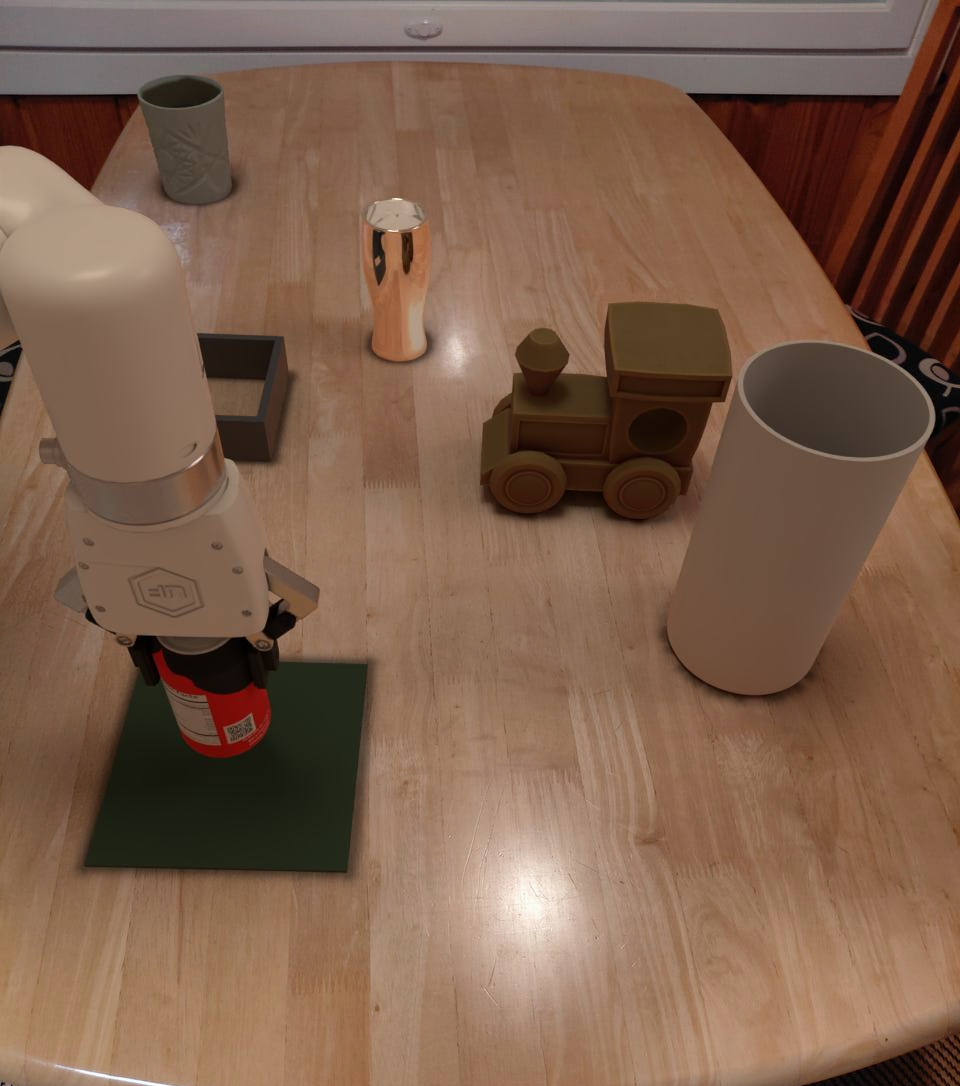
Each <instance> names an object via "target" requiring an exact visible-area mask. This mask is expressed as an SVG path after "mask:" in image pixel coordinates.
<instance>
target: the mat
mask: <svg viewBox="0 0 960 1086" xmlns="http://www.w3.org/2000/svg"><path fill="white" fill-rule="evenodd" d="M367 676H368V664H367V663H344V662H339V663H338V662H308V661H307V662H305V661H279V664H278V669H277V671H269V676H268V682H267V687H266V692H267V696H268V700H269V705H270V709H271V719H270V724H269V727H268V729H267V731H266V733H265V735H264V736H263V738H262V739H261V740H260V741H259V742H258V743H257V744H256V745H255V746H253V747H252V748H250V749H249V750H247V751H245V752H243V753H241V754H238V755H235V756H231V757H210V756H206V755H203V754H201V753H199V752H197V751H195V750H194V749H193V748H191V747H190V746H189V745H188V744H187V743H186V741H185V740H184V738H183V736H182V734H181V731H180V728H179V726H178V723H177V720H176V718H175V715H174V712H173V709H172V707H171V704H170V701H169V699H168V696H167V693H166V690H165V688H164V685H163V682H162V680H161V677H160V681H159V684H156V686H146V684H145V681H144V678H143V676H142V673H141V671H140V670H139V671H138V675H137V678H136V682H135V685H134V688H133V692H132V696H131V699H130V703H129V705H128V706H129V707H128V710H127V713H126V717H125V720H124V724H123V727H122V731H121V734H120V738H119V741H118V744H117V748H116V751H115V756H114V760H113V763H112V766H111V770H110V773H109V777H108V780H107V784H106V788H105V791H104V794H103V798H102V801H101V805H100V809H99V812H98V816H97V819H96V823H95V826H94V830H93V833H92V837H91V840H90V844H89V846H88V847H89V848H88V851H87V855H86V858H85V862H84V867H89V868H92V867H93V868H129V869H131V868H133V869H134V868H137V869H144V868H145V869H178V870H179V869H181V870H182V869H183V870H219V871H220V870H221V871H222V870H226V871H264V872H271V871H273V872H306V873H307V872H308V873H309V872H310V873H312V872H314V873H348V865H349V856H350V847H351V838H352V837H351V836H352V828H353V827H352V826H353V825H352V824H353V816H354V805H355V796H356V787H357V776H358V767H359V757H360V756H359V754H360V746H361V745H360V743H361V735H362V727H363V726H362V723H363V716H364V715H363V714H364V706H365V697H366V696H365V695H366V685H367V684H366V683H367Z"/></svg>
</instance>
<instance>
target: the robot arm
mask: <svg viewBox="0 0 960 1086" xmlns="http://www.w3.org/2000/svg"><path fill="white" fill-rule="evenodd" d="M197 333H198V332H197V328H196V324H195V319H194V313H193V310H192V305H191V300H190V296H189V291H188V287H187V282H186V278H185V273H184V269H183V265H182V261H181V259H180V256H179V253H178V250H177V248H176V246H175V243H174V241H172V239H171V238H170V236H169V235H168V233H167V232H166V231H165V230H164V228H162V227H161V226H160V225H159V224H158V223H156V221H154V220H153V219H152V218H150V217H148V216H146V215H144V214H142V213H139V212H137V211H134V210H132V209H129V208H125V207H120V206H116V205H108V204H105V202H104V201H101V200H100V199H99V198H98V197H96V196H95V195H94V194H93V193H91V192H90V191H89V190H88V189H87V188H86V187H84V186H83V185H82V184H80V183H79V182H78V181H77V180H76V179H75V178H73V177H72V176H71V175H70V174H69V173H67V172H66V171H65V170H64V169H63V168H61V167H60V166H59V165H58V164H56V163H55V162H54V161H52V160H51V159H49V158H47V157H46V156H45V155H43V154H40V153H39V152H36V151H34V150H32V149H29V148H27V147H23V146H17V145H1V146H0V352H1V351H3V350H4V349H6V348H8V347H9V346H11V345H13V344H14V343H16V342H17V341H19V343H20V346H21V348H22V350H23V353H24V356H25V359H26V361H27V364H28V366H29V368H30V371H31V373H32V376H33V378H34V382H35V383H36V384H35V385H36V386H37V389H38V392H39V394H40V397H41V399H42V402H43V404H44V407H45V410H46V412H47V415H48V417H49V420H50V423H51V426H52V427H53V428H52V429H53V431H54V433H55V437H42V438H41V439H40V440H39V443H38V455H39V458H40V461H41V463H42V464H44V465H56V466H57V468H63V469H64V470H65V471H66V473H67V476H68V478H69V482H68V483H67V485H66V487H65V490H64V494H63V501H64V512H65V519H66V527H67V533H68V538H69V542H70V549H71V553H72V557H73V562H74V566H73V567H72V568H71V569H69V570H68V571H67V572H66V573H65V574H64V575H62V576H61V577H60V578H59V580H58V582H57V583H56V587H55V590H54V592H53V599H54V600H55V601H56V602H58V603H60V604H62V605H63V606H65V607H67V608H69V609H71V610H73V611H75V612H76V613H78V614H81V613H82V614H84V618H85V619H86V620H87V621H88V622H89V623H91V624H93V625H94V626H95V625H96V626H97V627H99V628H101V629H103V630H105V631H106V632H109V633H110V634H113V635H114V638H113V639H114V642H115V643H116V644H117V645H118V646H120V647H124V648H127V651H128V654H129V656H130V658H131V661H132V665H133V666H134V667H135V668H139V671H141V673H142V676H143V678H144V681H145V684H146V686H156V684H159V681H160V674H159V672H158V669H157V666H156V663H155V661H154V658H153V655H152V652H151V639H152V635H154V636H183V637H245V638H246V639H247V640H248V641H249V642H248V647H247V658H248V662H249V666H250V670H251V674H252V678H253V682H254V686H255V687H257V689H266V687H267V682H268V676H269V671H277V669H278V664H279V662H280V648H279V642H278V639H280V638H281V637H282V636H284V635H286V634H287V633H289V632H290V631H291V630H293V629H294V628H295V627H296V623H297V622H299V621H300V620H301V621H302V620H303V619H305V618H306V617H308V616H309V615H311V614H312V613H313V612H315V611H316V610H317V609H318V608H319V603H320V596H321V589H320V587H319V586H317V585H315V584H314V583H312V582H311V581H309V580H307V579H306V578H305V577H303V576H300V575H299V574H298V573H296V572H294V571H293V570H291V569H289V568H287V567H286V566H284V565H283V564H281V563H280V562H278V561H276V560H275V559H273V557H272V552H271V549H270V545H269V541H268V538H267V533H266V531H265V527H264V525H263V522H262V519H261V515H260V512H259V510H258V507H257V505H256V502H255V500H254V498H253V496H252V493H251V490H250V489H249V487H248V485H247V483H246V481H245V478H244V477H243V475H242V473H241V472H240V469H239V468H238V466H237V465H236V463H235V462H234V460H230V459H226V458H224V455H223V451H222V446H221V442H220V437H219V433H218V428H217V424H216V419H215V415H216V414H215V410H214V406H213V401H212V396H211V392H210V387H209V383H208V379H207V378H208V377H206V373H205V369H204V365H203V359H202V355H201V350H200V346H199V341H198V337H197ZM270 593H271V594H273V595H275V596H277V597H278V598H280V599H279V600H277V601H276V602H274V603H273V602H272V601H271V600H270Z"/></svg>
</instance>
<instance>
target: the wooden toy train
mask: <svg viewBox="0 0 960 1086" xmlns="http://www.w3.org/2000/svg"><path fill="white" fill-rule="evenodd" d="M603 331H604V333H603V350H604V351H603V352H604V363H605V372H606V376H604V375H603V376H602V375H593V374H587V373H570V372H569V373H566V372H563V371H564V369H565V368H566V366H567V365H568V364H569V360H570V356H571V353H569V351H568V349H567V347H566V345H565V344H564V343H563V341H562V340H561V337H559V335H558V333H557V332H556V331H555V330H553V329H551V328H547V327H539V328H534V329H533V330H532V331H530V332H529V333H528V334H527V335H526V336H525V337H524V338H523V339H522V341H521V342H520V343H519V344H518V345H517V346H516V349H515V351H514V356H515V359H516V362H517V364H518V366H519V368H520V370H521V372H512V373H513V375H512V385H511V392H510V393H508V394H507V395H505V396H504V397H503V398H501V399H500V401H498V403H497V404H496V406H495V407H494V409H493V412H492V416H491V418H489V419H487V420H486V421H484V422H483V423H482V432H481V433H482V434H481V453H480V455H481V456H480V458H481V459H480V479H479V485H480V486H485V487H490V488H489V489H490V492H491V493H492V495H493V496H494V498H495V500H496V501H497V502H498V503H499V504H500V505H501V506H503V507H504V508H505V509H508V510H510V511H512V512H516V513H521V514H536V513H540V512H544V511H547V510H548V509H551V508H552V507H553V506H555V505H557V503H558V502H559V501H560V500H561V499H562V497H563V496H564V494H565V492H566V491H584V492H602V495H603V498H604V501H605V502H606V505H608V507H609V508H610V509H611V510H612V511H614V512H615V513H616V514H618V515H620V516H622V517H624V518H628V519H634V520H641V519H642V520H644V519H650V518H653V517H656V516H659V515H661V514H662V513H665V512H666V511H668V510H669V509H670V508H671V507H672V506H673V504H675V502H676V501H677V498H678V497H679V496H681V497H683V496H684V497H686V496H687V494H688V490H689V487H690V484H691V480H692V477H693V472H694V465H693V458H694V456H695V454H696V452H697V451H698V449H699V446H700V443H701V441H702V438H703V435H704V432H705V430H706V426H707V424H708V422H709V421H708V420H709V417H710V414H711V411H712V407H713V404H714V403H715V404H717V403H726V400H727V396H728V393H729V390H730V386H731V383H732V379H733V363H732V362H733V361H732V352H731V347H730V342H729V339H728V334H727V330H726V325H725V323H724V321H723V318H722V316H721V313H720V311H719V309H718V308H714V307H707V306H703V305H695V304H689V303H677V302H676V303H675V302H671V303H670V302H655V301H626V302H609V303H608V304H607V311H606V317H605V324H604V330H603Z"/></svg>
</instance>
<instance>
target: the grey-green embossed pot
mask: <svg viewBox="0 0 960 1086" xmlns="http://www.w3.org/2000/svg"><path fill="white" fill-rule="evenodd" d="M136 93H137V94H136V95H137V99H138V102H139V107H140V109H141V112H142V116H143V119H144V122H145V124H146V127H147V128H148V136H149V139H150V143H151V146H152V148H153V154H154V157H155V159H156V164H157V168H158V171H159V173H160V178H161V183H162V186H163V189H164V192H165V194H166V195H167V197H168V198H170V199H171V200H173V201H175V202H177V203H180V204H186V205H206V204H211V203H215V202H217V201H221V200H222V199H224V198H226V197H227V196H228V195H229V194H230V193H231V191H232V188H233V180H232V173H231V168H230V150H229V140H228V139H229V138H228V133H227V132H228V131H227V125H226V122H227V121H226V104H225V89H224V87H223V85H222V84H221V82H218V81H217V80H215V79H213V78H210V77H208V76H203V75H197V74H172V75H165V76H160V77H157V78H154V79H151V80H149V81H147V82H145V83H144V84H142V85H141V86H140V87H139V88H138V90H137V92H136Z"/></svg>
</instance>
